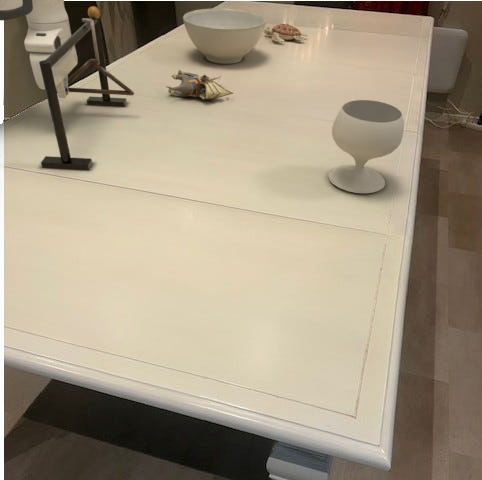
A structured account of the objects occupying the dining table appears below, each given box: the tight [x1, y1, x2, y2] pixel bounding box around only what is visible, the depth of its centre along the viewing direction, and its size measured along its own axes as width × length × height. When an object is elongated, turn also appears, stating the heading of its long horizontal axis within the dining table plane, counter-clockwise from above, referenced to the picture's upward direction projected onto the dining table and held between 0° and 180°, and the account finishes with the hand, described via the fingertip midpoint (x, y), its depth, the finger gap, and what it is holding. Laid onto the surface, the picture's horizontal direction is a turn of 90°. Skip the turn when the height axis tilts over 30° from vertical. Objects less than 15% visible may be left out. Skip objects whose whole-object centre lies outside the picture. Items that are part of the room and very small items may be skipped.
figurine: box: [165, 69, 234, 101], centre depth 135 cm, size 20×6×17 cm
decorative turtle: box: [263, 23, 308, 43], centre depth 183 cm, size 18×17×5 cm
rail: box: [39, 17, 98, 171], centre depth 109 cm, size 38×10×21 cm, turn 178°
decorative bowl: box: [182, 7, 267, 65], centre depth 160 cm, size 27×27×12 cm
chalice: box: [328, 99, 405, 194], centre depth 99 cm, size 14×14×15 cm
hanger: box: [68, 17, 135, 96], centre depth 115 cm, size 1×19×16 cm, turn 88°
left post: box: [86, 5, 128, 108], centre depth 122 cm, size 3×10×23 cm, turn 88°
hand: (63, 96), depth 119 cm, fingers closed
